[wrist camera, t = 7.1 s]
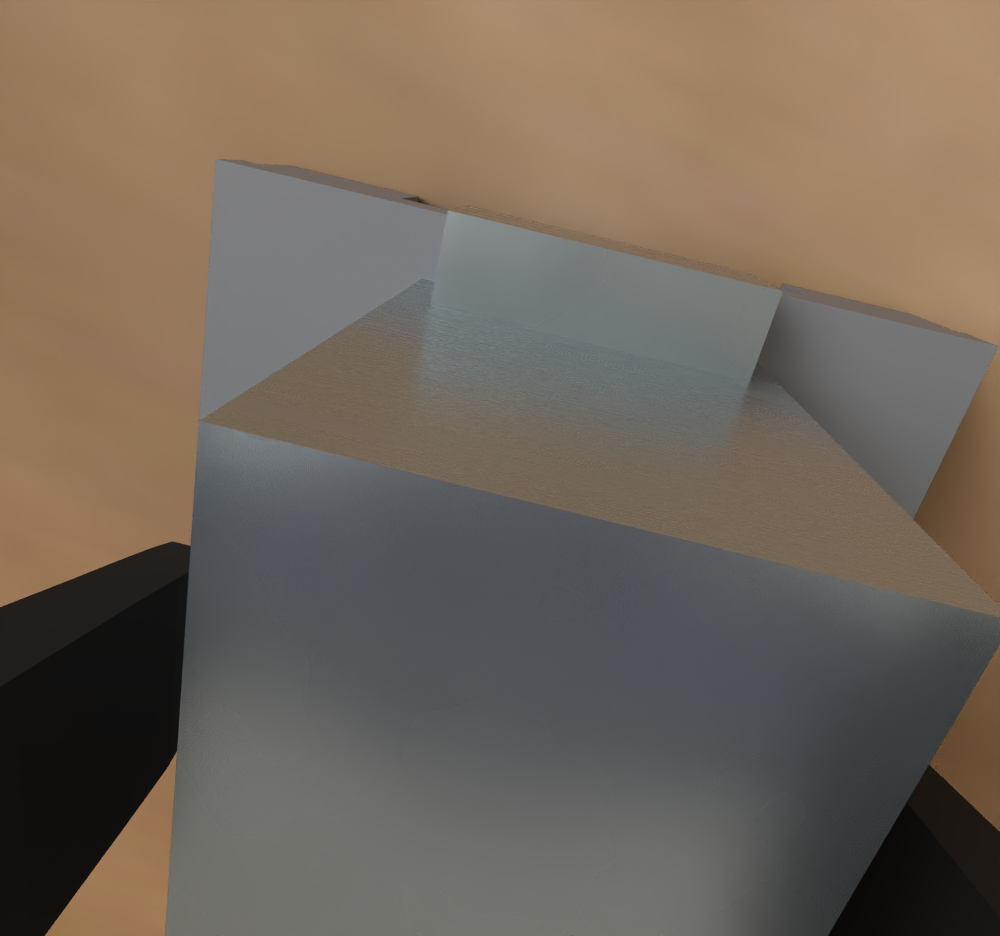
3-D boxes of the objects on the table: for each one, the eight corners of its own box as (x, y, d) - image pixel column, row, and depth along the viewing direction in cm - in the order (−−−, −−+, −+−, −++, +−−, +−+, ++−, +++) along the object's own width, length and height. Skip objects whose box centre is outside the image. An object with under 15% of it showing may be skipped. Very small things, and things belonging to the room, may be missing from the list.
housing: (574, 851, 13) (573, 1367, 7) (330, 789, 13) (143, 1257, 7) (782, 282, 9) (1116, 446, 3) (436, 198, 9) (212, 226, 3)
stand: (709, 804, 15) (728, 895, 13) (227, 686, 15) (177, 758, 13) (926, 317, 11) (997, 345, 9) (276, 162, 11) (215, 158, 9)
